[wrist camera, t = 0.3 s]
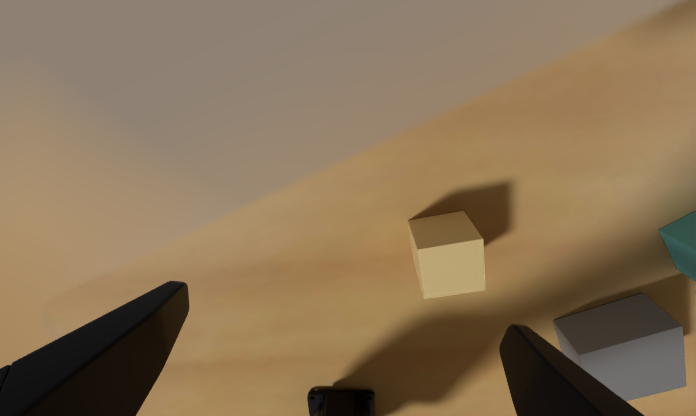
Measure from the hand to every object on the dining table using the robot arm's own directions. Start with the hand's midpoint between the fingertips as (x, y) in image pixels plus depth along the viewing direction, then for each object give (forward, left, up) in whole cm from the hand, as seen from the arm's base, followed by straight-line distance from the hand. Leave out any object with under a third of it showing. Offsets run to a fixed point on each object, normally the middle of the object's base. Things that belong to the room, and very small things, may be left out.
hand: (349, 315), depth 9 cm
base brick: (-16, -21, -14) cm, 30 cm away
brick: (-6, -6, -14) cm, 17 cm away
